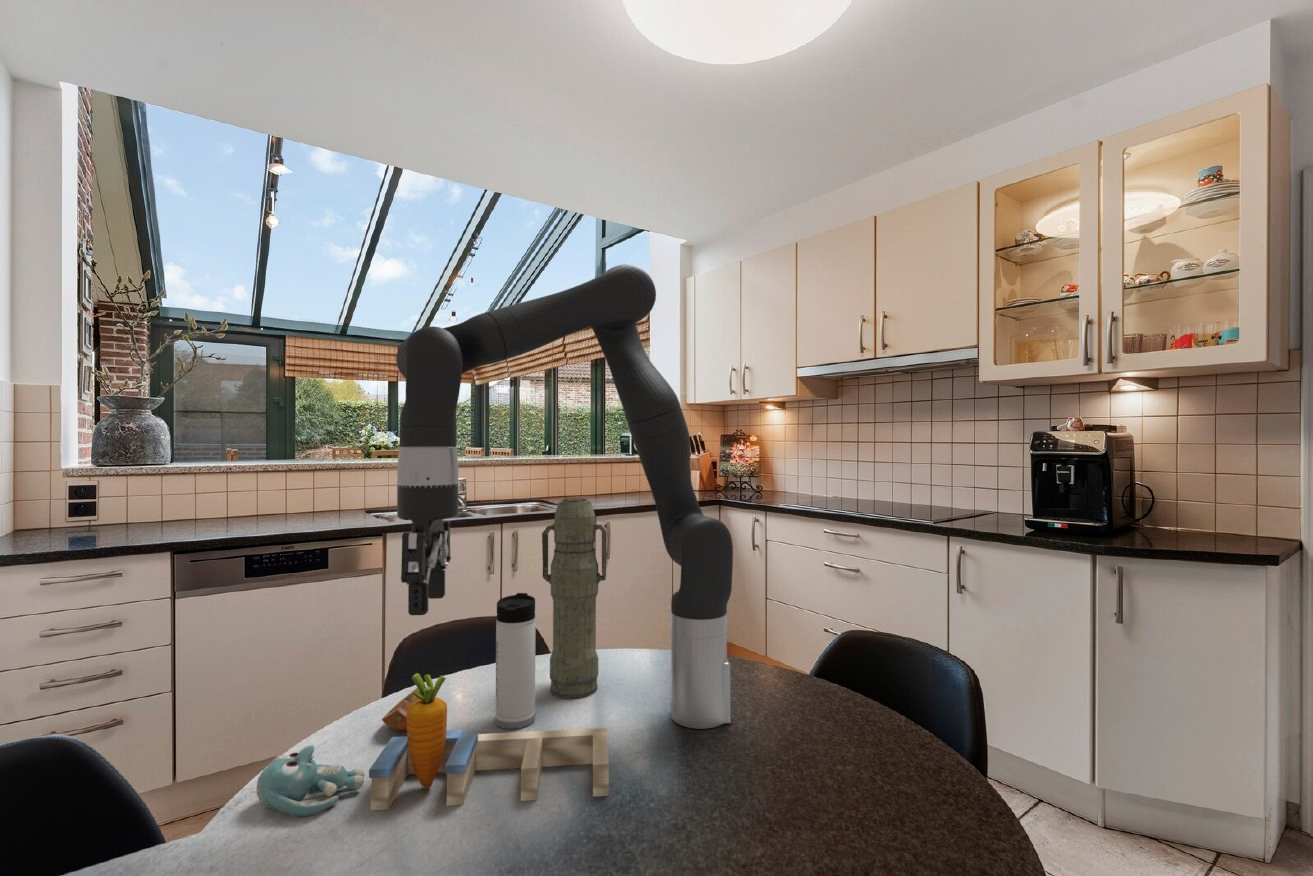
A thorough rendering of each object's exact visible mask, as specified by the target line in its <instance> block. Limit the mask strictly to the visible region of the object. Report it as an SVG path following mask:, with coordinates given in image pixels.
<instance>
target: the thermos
mask: <svg viewBox="0 0 1313 876" xmlns="http://www.w3.org/2000/svg"><path fill="white" fill-rule="evenodd" d="M553 517H554V518H553V519H554V520H553V524H551V525H550V524H549V525H547V526H546V527H545V529H544V530H543V532H542V533H541V544H542V547H541V549H542V550H541V553H542V554H541V555H542V579H544V580H545V582H547V583H549V585H550V596H551V598H552V651H551V655H550V658H549V679H550V693H551V695H552V696H555V697H557V698H561V699H571V700H572V699H573V700H574V699H582V698H586V697H588V696H589V697H590V696H591V695H593V694H595V693H596V692H597V691H598V676H599V656H598V653H597V649H596V642H597V640H596V627H597V624H596V622H597V621H596V617H597V610H596V607H597V604H596V602H597V601H596V598H597V597H598V594H599V583H600V582H603V581H606V579H607V578H606V577H607V531H606V529H605V528H604V526H603V524H601V523H597V522H596V514H595V510H594V508H593V505H592V501H591V500H588V498H563V499H562V500H561V501H558V503H557V506H556V509H555V512H554V516H553ZM551 530H552V531H553V538H554V539H553V542H554V544H555V545H554V547H555V548H554V549H553V558H552V560H551V563H550V573H549V533H550V532H551ZM598 530H600V532H601V573H600V572H599V563H598V560H597V558H596V548H595V541H596V531H598Z"/></svg>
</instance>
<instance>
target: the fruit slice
mask: <svg viewBox="0 0 1313 876" xmlns="http://www.w3.org/2000/svg"><path fill="white" fill-rule="evenodd" d="M414 690H417V691H419V689H418V687H417V686H416V688H415V689H414ZM419 692H420V691H419ZM417 700H419V698H418V697H416V696H415V695H413V694H412V691H411V692H410V693H409V694H408V695H406V696H405V697H404V698H403V699H401V700H400V701H399V702H398V703H397V704H396V705H394V706H393V707H392V708H391V709H390V710H389V711H388V712H387V713H386V714H385V715H384V716H383V717H382V719H381V721H382V722H383V723H384V724H385V725H386V726H388V727H389V728H391V729H393V730H396V731H407V711H408V709H409V708H410V706H411V705H412V704H413V703H414V702H415V701H417Z"/></svg>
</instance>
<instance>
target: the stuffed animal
mask: <svg viewBox="0 0 1313 876" xmlns="http://www.w3.org/2000/svg"><path fill="white" fill-rule="evenodd" d="M314 750H315V746H314V745H313V744H312V745H311V744H310V745H306V746H305V747H304V748H302V749H301V750H299V752H292V753H290V754H287V755H285V754H280V755H278V756H276V757H275V758H274V760H273V761H272V762H270V763H269V764H268V765H267V766H266V768H265V769H264V770H263V771H261V773H260V774H259V776H258V778H257V783H256V796H257V798H258V801H259V802H260V804H262V806H263V807H264V808H266V809H272V810H278V811H279V812H282V813H285V814H288V815H290V816H292V817H294V818H301V817H302V818H303V817H309V816H312V815H315V814H319V813H321V812H324V811H325V810H327V809H329V808H330V807H333V805H336V804H337V803H338V800H339V798H340V797H339V795H338V794H336V795H334V794H335V793H336V791H339V790H340V789H342V788H344V787H346V788H350V789H354V790H355V789H356V790H357V789H361V788H362V787H363V786H364V783H365V780H364V778H365V770H364V769H360V768H359V769H357V768H356V769H352V770H350V771H349V770H347V769H346V768H345V766H344V765H340V764H337V763H335V764H330V765H329V764H321V763H320V764H319V763H318V764H316V761H315V760H314V758H315V755H314ZM319 791H321V792H322V793H323V794H324V795H325V796H327V797H324V798H315V799H314V798H313V799H306V800H305V799H304V798H305V797H306V796H307V795H308V793H309V792H319ZM333 795H334V796H333ZM303 799H304V800H303Z"/></svg>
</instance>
